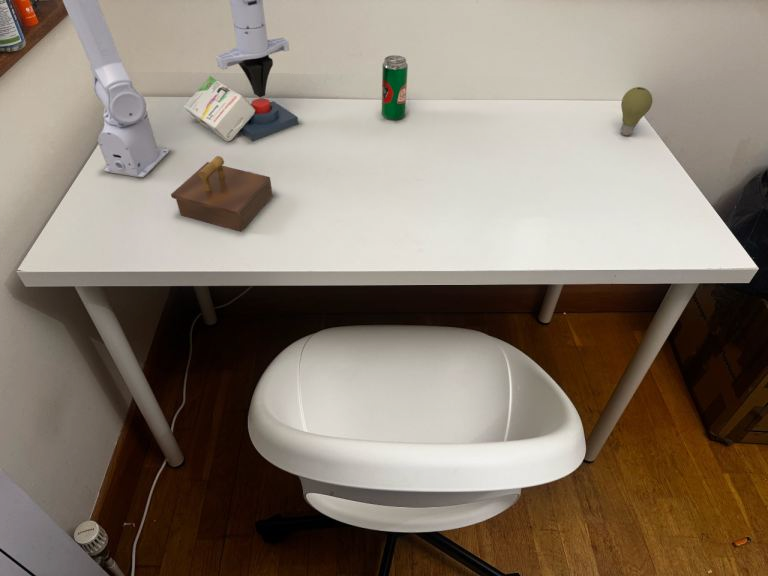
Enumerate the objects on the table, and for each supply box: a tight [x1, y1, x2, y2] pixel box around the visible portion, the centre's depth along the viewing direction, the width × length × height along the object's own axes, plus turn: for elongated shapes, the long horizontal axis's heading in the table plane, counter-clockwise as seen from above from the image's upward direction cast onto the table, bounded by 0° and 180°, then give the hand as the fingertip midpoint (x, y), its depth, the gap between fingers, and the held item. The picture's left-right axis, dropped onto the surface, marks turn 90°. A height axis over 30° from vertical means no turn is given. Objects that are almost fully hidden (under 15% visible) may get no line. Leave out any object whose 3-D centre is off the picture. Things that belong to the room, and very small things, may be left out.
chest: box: [175, 180, 274, 233], centre depth 95 cm, size 12×11×3 cm
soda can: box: [381, 54, 409, 121], centre depth 116 cm, size 5×5×12 cm
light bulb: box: [620, 86, 653, 137], centre depth 113 cm, size 6×6×10 cm
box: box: [238, 100, 299, 142], centre depth 116 cm, size 11×9×4 cm
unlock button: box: [251, 97, 271, 114], centre depth 114 cm, size 4×4×2 cm
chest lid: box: [170, 155, 271, 215], centre depth 93 cm, size 12×11×5 cm
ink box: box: [183, 76, 255, 143], centre depth 113 cm, size 8×5×12 cm
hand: (259, 94), depth 112 cm, fingers closed
